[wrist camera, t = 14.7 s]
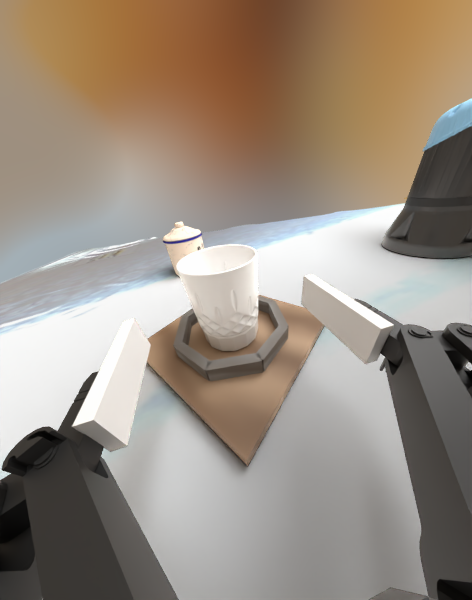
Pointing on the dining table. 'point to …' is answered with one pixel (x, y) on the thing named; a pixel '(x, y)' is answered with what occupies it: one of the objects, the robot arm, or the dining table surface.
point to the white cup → (223, 293)
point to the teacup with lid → (182, 242)
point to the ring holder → (237, 371)
